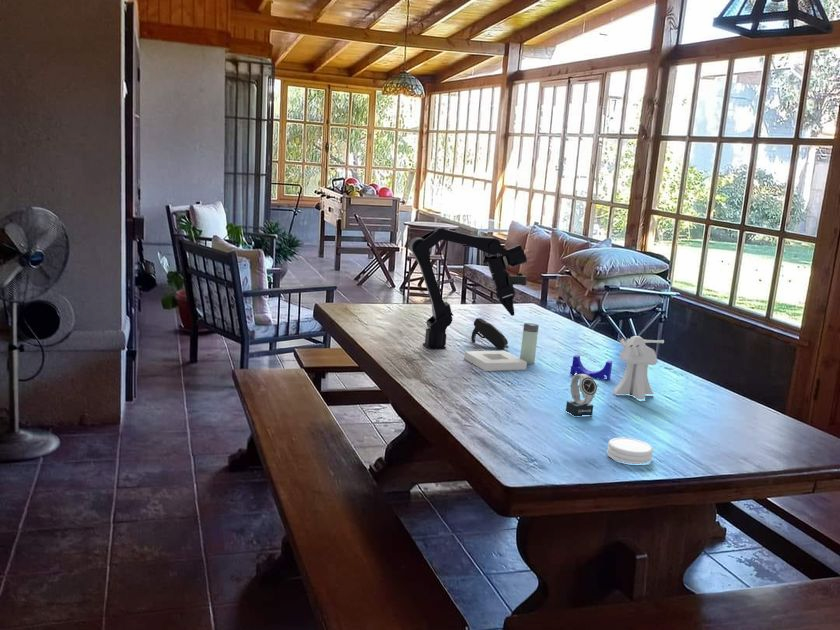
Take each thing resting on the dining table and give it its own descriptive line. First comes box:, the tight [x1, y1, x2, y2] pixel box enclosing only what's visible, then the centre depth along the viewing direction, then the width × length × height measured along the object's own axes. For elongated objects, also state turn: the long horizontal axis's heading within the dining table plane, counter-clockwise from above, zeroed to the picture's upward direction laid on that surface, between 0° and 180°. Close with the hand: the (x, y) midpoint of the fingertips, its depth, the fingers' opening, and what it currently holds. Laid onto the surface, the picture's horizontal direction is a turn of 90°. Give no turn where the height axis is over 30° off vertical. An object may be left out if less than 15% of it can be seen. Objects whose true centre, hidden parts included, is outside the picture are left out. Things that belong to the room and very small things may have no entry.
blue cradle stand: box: [569, 354, 613, 381], centre depth 248 cm, size 12×4×6 cm, turn 65°
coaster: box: [606, 437, 654, 464], centre depth 177 cm, size 10×10×4 cm
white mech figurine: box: [612, 335, 665, 399], centre depth 229 cm, size 12×13×18 cm
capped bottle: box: [520, 322, 540, 365], centre depth 259 cm, size 5×5×13 cm
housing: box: [463, 350, 528, 372], centre depth 254 cm, size 15×15×2 cm
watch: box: [565, 374, 598, 416], centre depth 206 cm, size 6×8×11 cm
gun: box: [470, 317, 510, 351], centre depth 280 cm, size 3×16×10 cm, turn 53°
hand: (513, 314), depth 269 cm, fingers open, 9 cm apart
